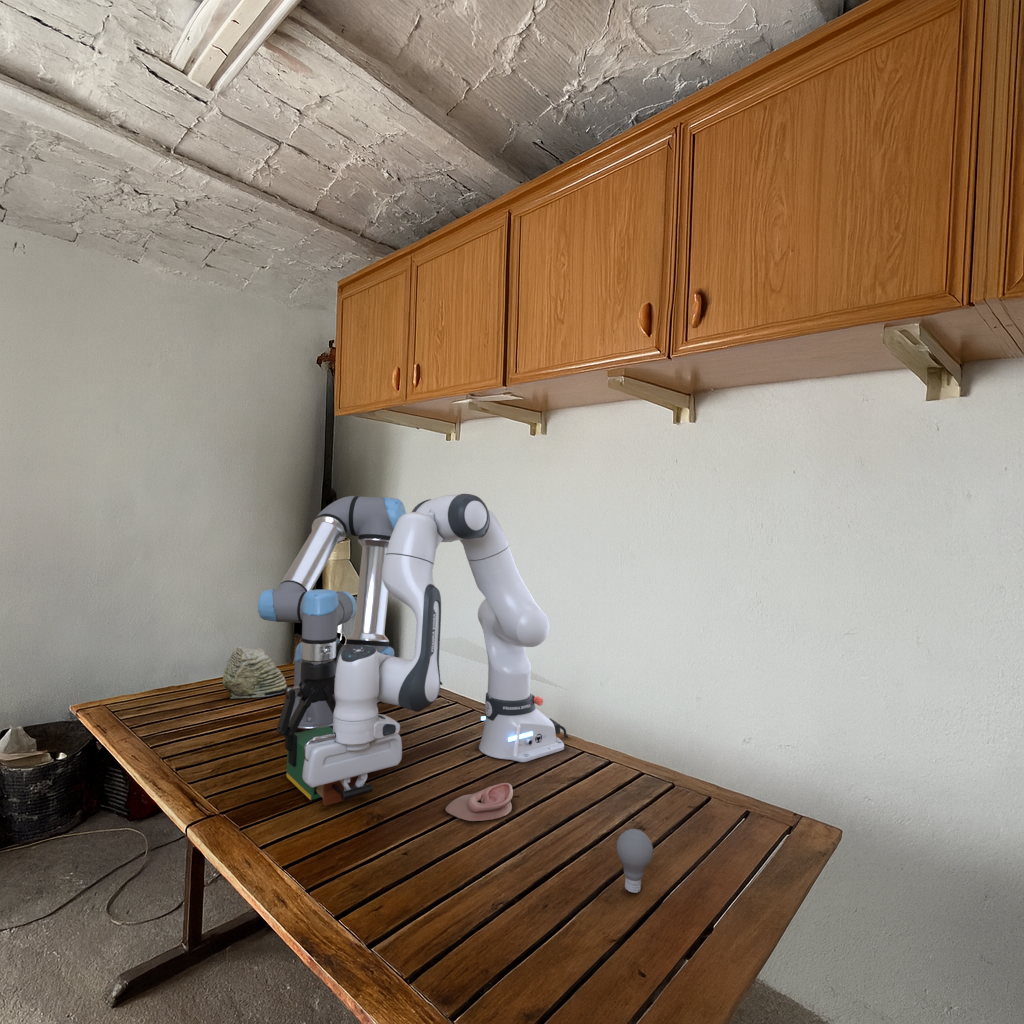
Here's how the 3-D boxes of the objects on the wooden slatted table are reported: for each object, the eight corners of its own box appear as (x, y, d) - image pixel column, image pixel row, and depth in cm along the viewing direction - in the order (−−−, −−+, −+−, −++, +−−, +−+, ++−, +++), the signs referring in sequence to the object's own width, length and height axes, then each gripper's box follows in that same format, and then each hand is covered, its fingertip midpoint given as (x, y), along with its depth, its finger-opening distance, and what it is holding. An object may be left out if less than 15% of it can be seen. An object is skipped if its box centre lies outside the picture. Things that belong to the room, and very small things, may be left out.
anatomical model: (441, 797, 127) (457, 773, 138) (440, 817, 127) (456, 791, 138) (505, 806, 124) (517, 781, 136) (504, 826, 124) (516, 800, 136)
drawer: (377, 806, 129) (378, 768, 129) (338, 818, 123) (339, 779, 123) (337, 773, 143) (338, 739, 143) (301, 783, 138) (302, 747, 137)
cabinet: (353, 788, 138) (354, 744, 138) (310, 800, 132) (312, 754, 132) (327, 766, 149) (328, 725, 148) (286, 776, 142) (287, 734, 142)
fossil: (218, 695, 195) (220, 647, 195) (278, 685, 208) (279, 640, 207) (228, 703, 189) (230, 653, 188) (289, 692, 201) (290, 645, 201)
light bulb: (610, 879, 108) (613, 822, 108) (644, 879, 109) (647, 822, 109) (619, 902, 102) (622, 840, 102) (655, 901, 103) (658, 840, 103)
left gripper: (274, 670, 132) (270, 776, 132) (371, 656, 146) (367, 752, 147) (262, 662, 138) (258, 764, 138) (356, 650, 152) (353, 742, 152)
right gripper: (311, 744, 119) (308, 817, 119) (407, 723, 132) (404, 789, 132) (298, 733, 123) (296, 803, 124) (392, 714, 136) (389, 778, 137)
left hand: (314, 758), depth 142 cm, fingers closed on cabinet, 10 cm apart
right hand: (352, 796), depth 128 cm, fingers closed, pressing on drawer
